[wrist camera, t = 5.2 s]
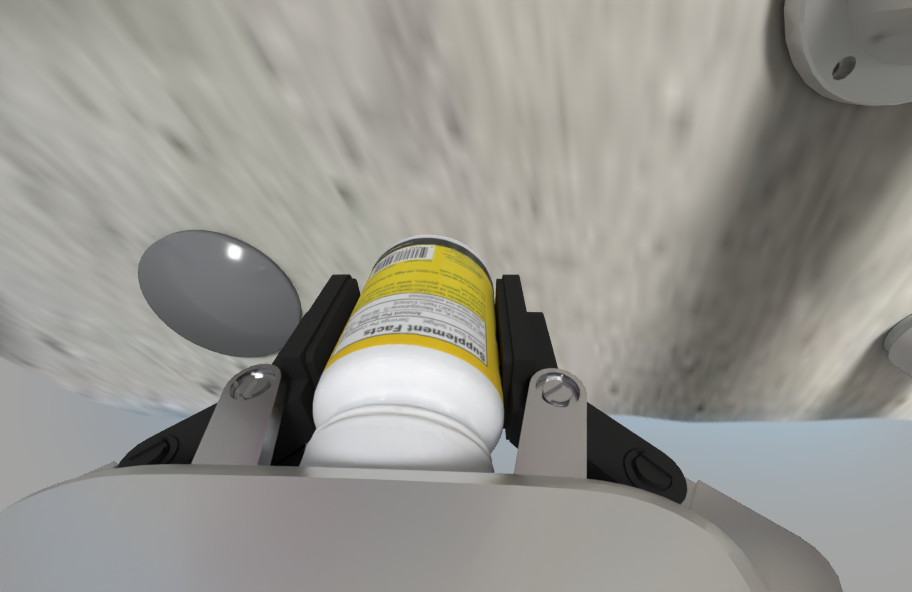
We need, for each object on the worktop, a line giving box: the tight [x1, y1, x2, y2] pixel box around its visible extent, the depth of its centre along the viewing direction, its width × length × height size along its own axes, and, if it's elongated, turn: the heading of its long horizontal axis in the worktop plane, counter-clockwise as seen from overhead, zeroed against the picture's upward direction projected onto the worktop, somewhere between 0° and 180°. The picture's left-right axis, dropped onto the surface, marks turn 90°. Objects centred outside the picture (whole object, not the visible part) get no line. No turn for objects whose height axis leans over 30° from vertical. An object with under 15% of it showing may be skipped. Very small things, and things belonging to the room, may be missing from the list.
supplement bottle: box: [299, 235, 504, 473], centre depth 10 cm, size 5×5×8 cm
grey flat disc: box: [138, 230, 301, 357], centre depth 23 cm, size 10×10×1 cm
